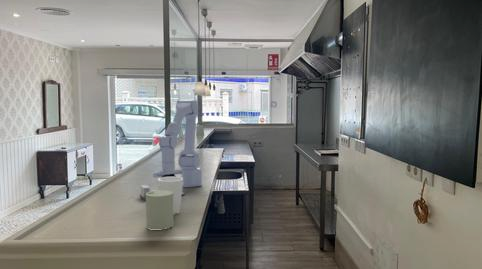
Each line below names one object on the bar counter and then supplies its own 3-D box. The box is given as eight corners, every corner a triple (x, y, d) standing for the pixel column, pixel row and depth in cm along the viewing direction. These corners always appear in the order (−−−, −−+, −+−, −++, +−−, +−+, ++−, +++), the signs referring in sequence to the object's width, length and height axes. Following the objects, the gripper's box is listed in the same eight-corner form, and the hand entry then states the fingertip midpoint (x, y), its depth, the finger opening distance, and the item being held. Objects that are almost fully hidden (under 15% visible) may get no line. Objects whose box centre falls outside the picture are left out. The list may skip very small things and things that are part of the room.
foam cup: (162, 208, 142) (161, 176, 141) (185, 208, 142) (184, 176, 141) (155, 215, 132) (155, 181, 131) (180, 216, 132) (180, 181, 131)
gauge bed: (178, 191, 171) (177, 180, 171) (184, 195, 162) (184, 184, 162) (140, 195, 163) (139, 184, 162) (144, 200, 154) (144, 189, 154)
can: (148, 222, 125) (148, 188, 124) (175, 221, 126) (174, 188, 125) (143, 231, 116) (143, 195, 115) (172, 230, 117) (171, 194, 116)
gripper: (177, 159, 171) (178, 187, 172) (149, 162, 161) (150, 191, 162) (185, 160, 165) (185, 189, 166) (157, 164, 156) (157, 194, 157)
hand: (168, 190), depth 164 cm, fingers closed
